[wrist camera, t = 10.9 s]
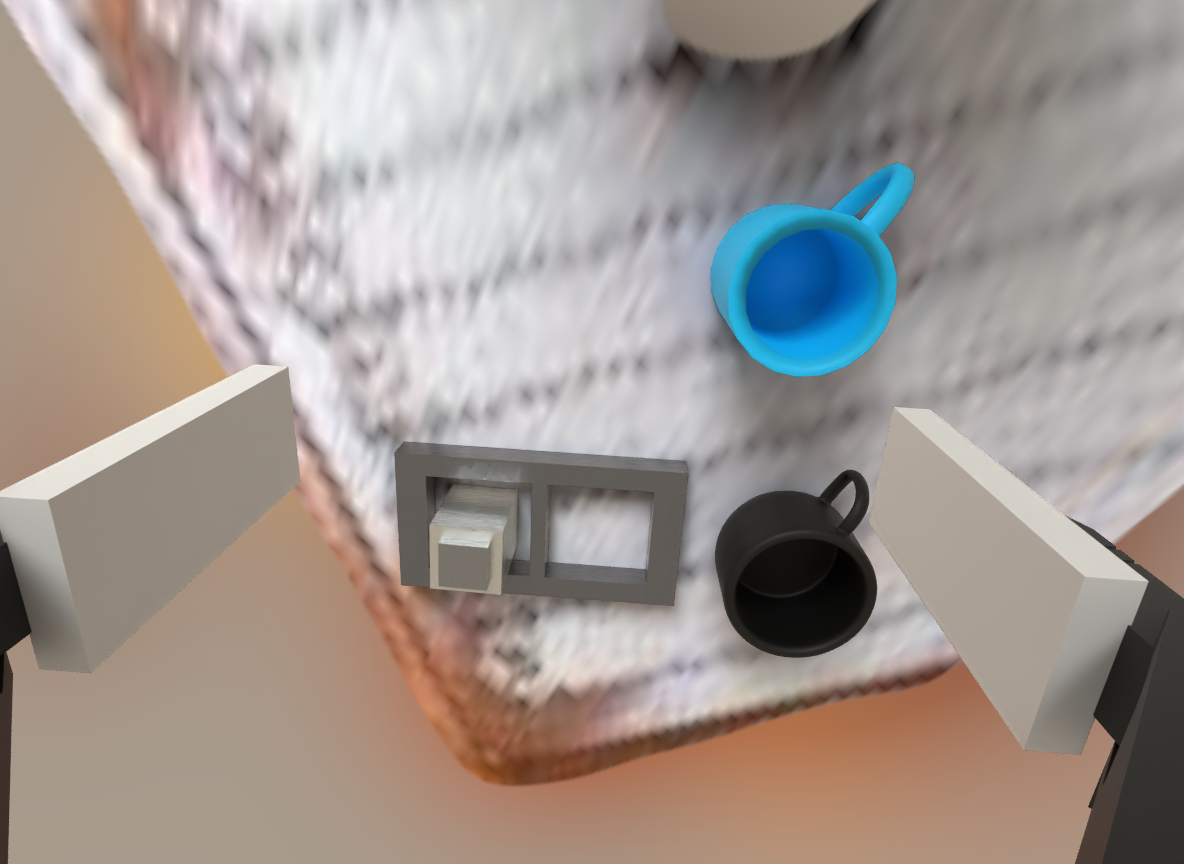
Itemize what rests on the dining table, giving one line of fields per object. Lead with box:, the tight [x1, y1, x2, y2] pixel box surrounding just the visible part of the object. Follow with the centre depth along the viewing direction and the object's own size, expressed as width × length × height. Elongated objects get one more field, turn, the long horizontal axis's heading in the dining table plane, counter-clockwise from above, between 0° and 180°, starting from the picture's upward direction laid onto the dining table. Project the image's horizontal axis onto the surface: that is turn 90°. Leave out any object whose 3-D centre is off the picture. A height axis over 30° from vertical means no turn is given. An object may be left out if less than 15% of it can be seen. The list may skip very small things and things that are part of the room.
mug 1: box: [711, 163, 915, 377], centre depth 37 cm, size 12×8×8 cm
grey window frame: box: [394, 442, 688, 606], centre depth 47 cm, size 10×19×2 cm, turn 87°
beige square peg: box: [429, 484, 518, 595], centre depth 45 cm, size 4×4×7 cm
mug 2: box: [715, 470, 877, 658], centre depth 44 cm, size 12×9×7 cm
